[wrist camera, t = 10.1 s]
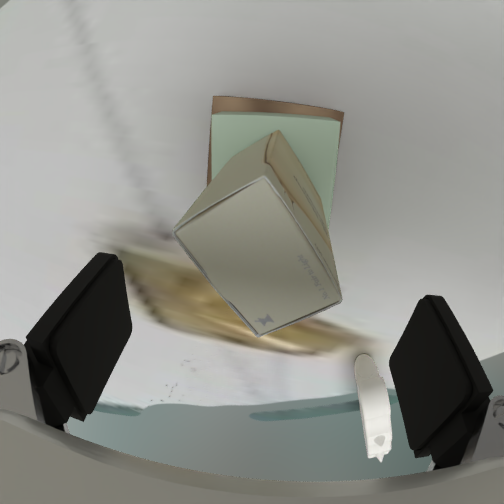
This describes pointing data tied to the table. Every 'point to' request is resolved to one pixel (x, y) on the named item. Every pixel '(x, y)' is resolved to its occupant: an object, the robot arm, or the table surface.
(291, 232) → the skincare box
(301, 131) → the tower top block
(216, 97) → the tower base block
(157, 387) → the table surface
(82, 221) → the table surface
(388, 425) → the white brass knuckles
